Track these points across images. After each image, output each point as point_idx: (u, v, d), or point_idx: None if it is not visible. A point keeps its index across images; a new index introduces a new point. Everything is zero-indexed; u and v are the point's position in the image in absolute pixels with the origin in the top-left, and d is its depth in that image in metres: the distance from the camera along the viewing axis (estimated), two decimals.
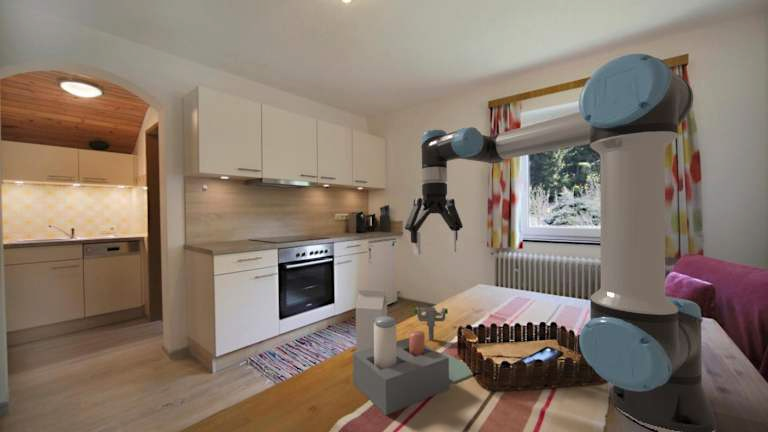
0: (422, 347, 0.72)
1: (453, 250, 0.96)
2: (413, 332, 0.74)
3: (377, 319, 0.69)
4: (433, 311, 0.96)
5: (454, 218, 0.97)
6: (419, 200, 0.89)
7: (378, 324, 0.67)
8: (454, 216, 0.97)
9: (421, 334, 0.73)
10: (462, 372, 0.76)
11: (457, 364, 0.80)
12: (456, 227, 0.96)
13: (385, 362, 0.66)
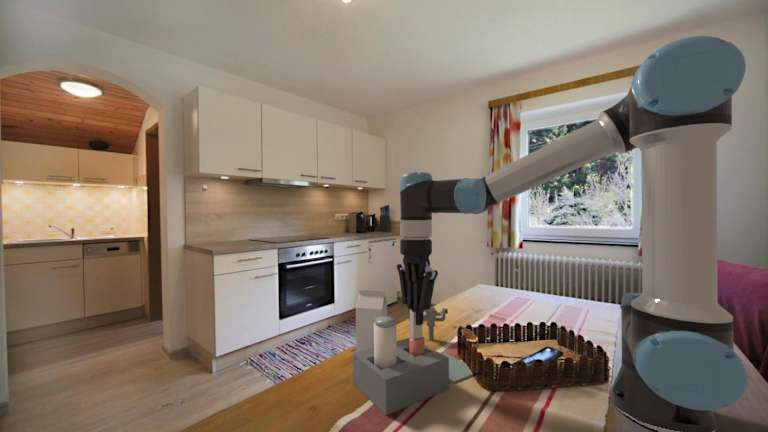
0: (422, 352, 0.72)
1: None
2: None
3: (377, 319, 0.69)
4: (433, 311, 0.96)
5: None
6: (397, 267, 0.78)
7: (378, 324, 0.67)
8: None
9: (421, 339, 0.73)
10: (462, 372, 0.76)
11: (457, 364, 0.80)
12: (415, 307, 0.72)
13: (385, 362, 0.66)
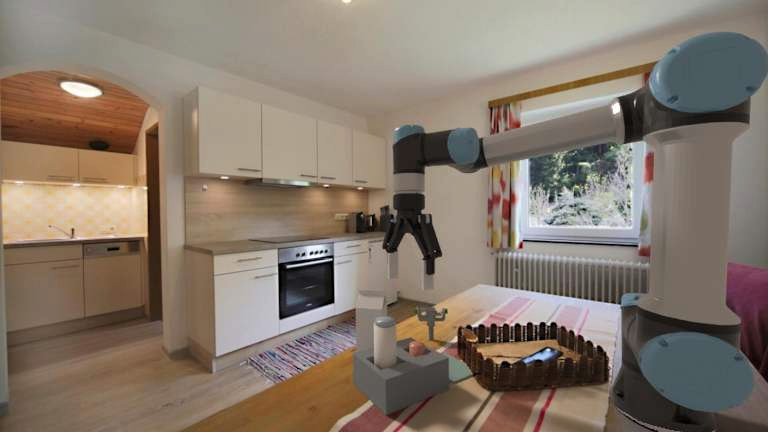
0: None
1: None
2: (413, 342, 0.74)
3: (377, 319, 0.69)
4: (433, 311, 0.96)
5: None
6: (389, 216, 0.77)
7: (378, 324, 0.67)
8: None
9: (421, 345, 0.73)
10: (462, 372, 0.76)
11: (457, 364, 0.80)
12: (425, 255, 0.66)
13: (385, 362, 0.66)
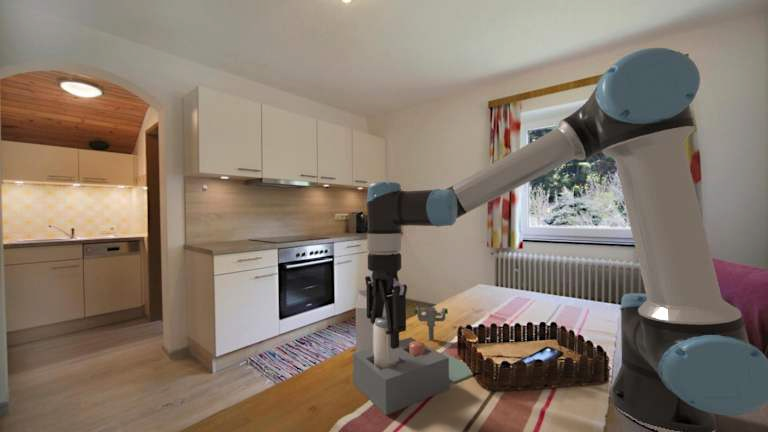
0: None
1: None
2: (413, 342, 0.74)
3: (377, 319, 0.69)
4: (433, 311, 0.96)
5: None
6: (365, 279, 0.73)
7: (378, 324, 0.67)
8: None
9: (421, 345, 0.73)
10: (462, 372, 0.76)
11: (457, 364, 0.80)
12: (389, 328, 0.65)
13: (385, 362, 0.66)
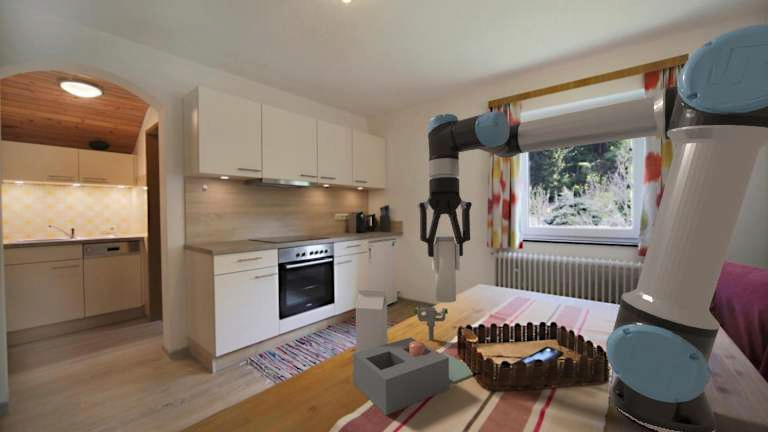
0: None
1: (456, 268, 0.78)
2: (413, 342, 0.74)
3: (442, 237, 0.77)
4: (433, 311, 0.96)
5: (464, 226, 0.78)
6: (421, 205, 0.77)
7: (449, 239, 0.76)
8: (464, 224, 0.78)
9: (421, 345, 0.73)
10: (462, 372, 0.76)
11: (457, 364, 0.80)
12: (460, 239, 0.77)
13: (455, 270, 0.77)
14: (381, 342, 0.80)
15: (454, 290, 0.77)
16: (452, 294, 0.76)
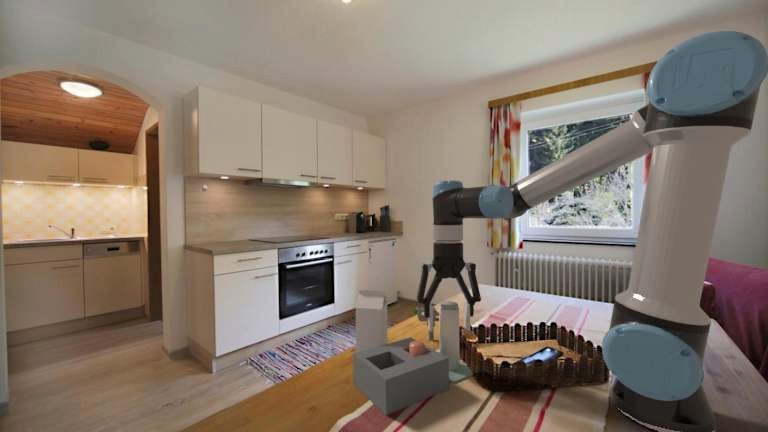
0: None
1: (466, 328, 0.78)
2: (413, 342, 0.74)
3: (446, 305, 0.78)
4: (433, 311, 0.96)
5: (472, 287, 0.79)
6: (424, 267, 0.78)
7: (453, 307, 0.77)
8: (472, 285, 0.79)
9: (421, 345, 0.73)
10: (462, 372, 0.76)
11: None
12: (471, 300, 0.78)
13: (458, 338, 0.78)
14: (381, 342, 0.80)
15: (458, 358, 0.77)
16: (456, 362, 0.77)
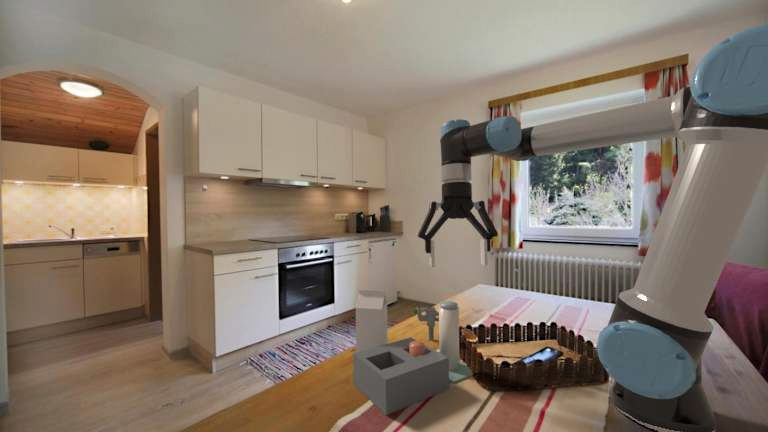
0: None
1: (484, 263, 0.78)
2: (413, 342, 0.74)
3: (446, 305, 0.78)
4: (433, 311, 0.96)
5: (486, 224, 0.79)
6: (432, 204, 0.77)
7: (453, 307, 0.77)
8: (486, 222, 0.79)
9: (421, 345, 0.73)
10: (462, 372, 0.76)
11: None
12: (487, 235, 0.78)
13: (458, 338, 0.78)
14: (381, 342, 0.80)
15: (457, 358, 0.77)
16: (456, 362, 0.77)
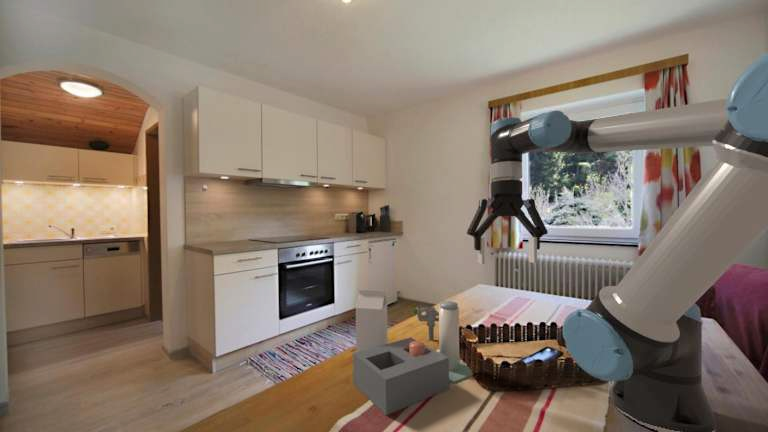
0: None
1: (533, 261, 0.79)
2: (413, 342, 0.74)
3: (446, 305, 0.78)
4: (433, 311, 0.96)
5: (536, 222, 0.79)
6: (483, 201, 0.78)
7: (453, 307, 0.77)
8: (535, 220, 0.79)
9: (421, 345, 0.73)
10: (462, 372, 0.76)
11: None
12: (537, 233, 0.79)
13: (458, 338, 0.78)
14: (381, 342, 0.80)
15: (457, 358, 0.77)
16: (456, 362, 0.77)
